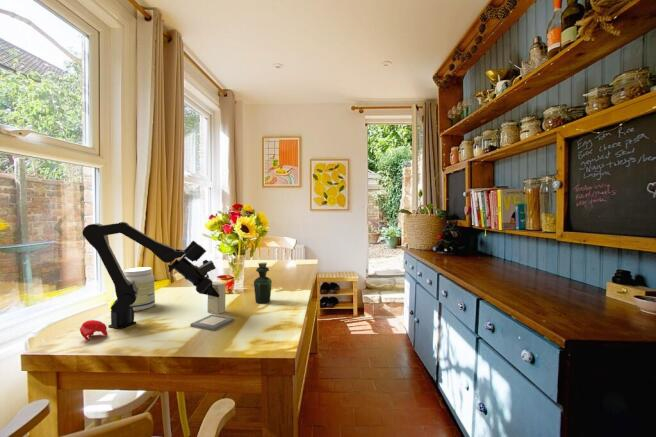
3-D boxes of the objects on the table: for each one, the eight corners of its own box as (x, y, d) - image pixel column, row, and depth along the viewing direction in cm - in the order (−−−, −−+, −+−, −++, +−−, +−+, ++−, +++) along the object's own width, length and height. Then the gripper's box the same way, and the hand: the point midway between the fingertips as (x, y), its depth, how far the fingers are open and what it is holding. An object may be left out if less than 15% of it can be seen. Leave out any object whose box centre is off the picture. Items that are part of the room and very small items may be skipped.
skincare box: (207, 312, 130) (206, 283, 130) (215, 309, 134) (215, 281, 134) (218, 314, 128) (217, 285, 127) (226, 311, 131) (225, 282, 131)
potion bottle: (251, 301, 146) (250, 263, 145) (267, 298, 150) (266, 261, 150) (258, 305, 139) (258, 265, 138) (274, 302, 144) (274, 263, 143)
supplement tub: (161, 303, 143) (160, 266, 142) (142, 312, 131) (141, 272, 130) (136, 302, 144) (135, 266, 143) (115, 311, 132) (114, 271, 131)
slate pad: (213, 330, 111) (213, 327, 111) (190, 326, 115) (190, 323, 115) (234, 320, 121) (234, 317, 121) (212, 316, 125) (211, 314, 125)
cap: (75, 334, 100) (95, 322, 102) (76, 323, 104) (95, 312, 106) (93, 348, 104) (111, 336, 106) (93, 336, 109) (111, 325, 111)
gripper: (205, 258, 120) (235, 283, 125) (200, 252, 136) (227, 274, 142) (182, 280, 116) (214, 305, 122) (181, 271, 133) (209, 294, 138)
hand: (217, 293), depth 131 cm, fingers open, 9 cm apart
